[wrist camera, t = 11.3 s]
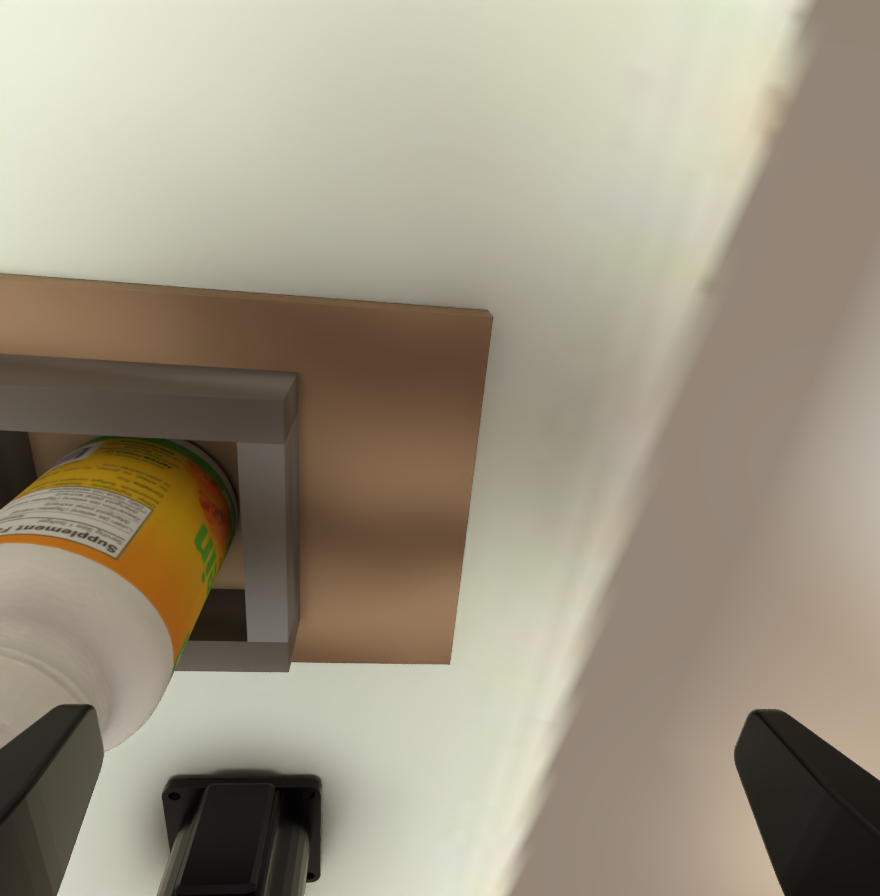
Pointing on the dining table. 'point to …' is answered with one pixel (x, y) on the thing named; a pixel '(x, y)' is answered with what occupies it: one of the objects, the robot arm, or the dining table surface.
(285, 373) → the can holder
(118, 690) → the supplement bottle
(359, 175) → the dining table surface
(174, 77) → the dining table surface
